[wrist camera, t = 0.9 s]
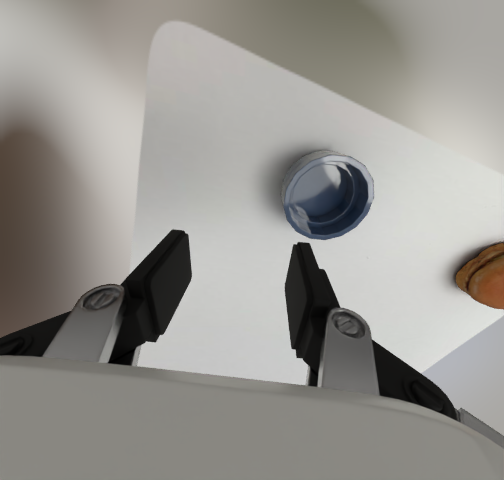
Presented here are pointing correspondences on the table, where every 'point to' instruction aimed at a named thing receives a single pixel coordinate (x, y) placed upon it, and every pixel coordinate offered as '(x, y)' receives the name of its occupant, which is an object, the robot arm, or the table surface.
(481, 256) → the burger
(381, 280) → the table surface
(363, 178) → the bowl
